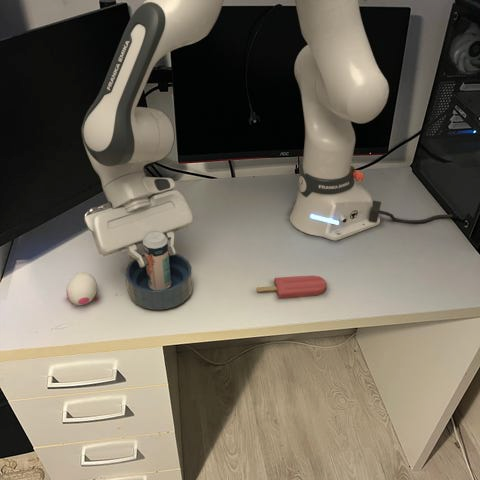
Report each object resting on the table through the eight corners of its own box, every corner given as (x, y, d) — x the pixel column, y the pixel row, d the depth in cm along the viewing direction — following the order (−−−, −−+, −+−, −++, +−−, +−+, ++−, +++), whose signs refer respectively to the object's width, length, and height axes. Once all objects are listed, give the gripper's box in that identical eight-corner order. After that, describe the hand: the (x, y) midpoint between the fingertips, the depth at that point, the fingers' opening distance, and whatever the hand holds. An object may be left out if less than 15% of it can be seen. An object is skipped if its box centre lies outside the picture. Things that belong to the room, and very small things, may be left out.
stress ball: (81, 299, 111) (58, 279, 107) (109, 283, 108) (86, 261, 104) (74, 323, 105) (49, 302, 101) (103, 306, 102) (78, 284, 99)
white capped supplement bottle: (148, 277, 109) (142, 230, 101) (171, 277, 109) (167, 229, 101) (147, 292, 105) (141, 244, 97) (171, 291, 106) (167, 243, 97)
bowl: (182, 266, 115) (180, 246, 111) (200, 303, 106) (199, 282, 102) (123, 279, 111) (119, 258, 107) (137, 318, 102) (133, 297, 98)
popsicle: (254, 278, 110) (323, 273, 111) (254, 284, 111) (322, 279, 112) (258, 295, 106) (329, 289, 107) (258, 300, 107) (328, 295, 109)
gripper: (82, 206, 94) (114, 276, 95) (179, 176, 103) (207, 240, 104) (77, 216, 100) (107, 282, 101) (170, 187, 109) (196, 248, 110)
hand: (159, 261), depth 102 cm, fingers closed on white capped supplement bottle, 5 cm apart
